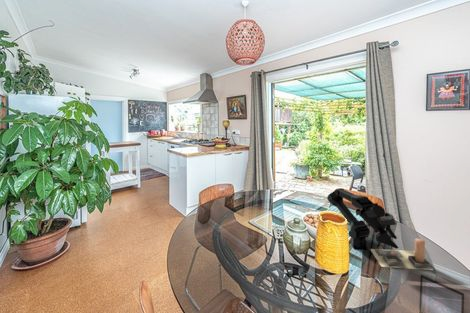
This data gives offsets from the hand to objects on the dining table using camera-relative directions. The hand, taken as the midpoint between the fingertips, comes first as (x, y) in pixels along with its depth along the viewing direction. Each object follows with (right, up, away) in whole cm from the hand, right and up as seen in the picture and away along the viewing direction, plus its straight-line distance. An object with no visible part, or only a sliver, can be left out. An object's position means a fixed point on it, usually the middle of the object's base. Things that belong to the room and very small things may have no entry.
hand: (397, 243), depth 104 cm
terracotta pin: (+7, -8, -5) cm, 12 cm away
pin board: (+1, -9, 0) cm, 9 cm away
